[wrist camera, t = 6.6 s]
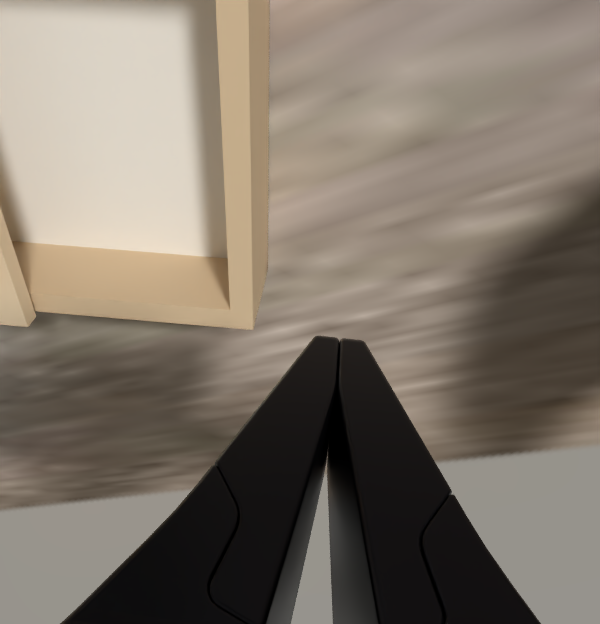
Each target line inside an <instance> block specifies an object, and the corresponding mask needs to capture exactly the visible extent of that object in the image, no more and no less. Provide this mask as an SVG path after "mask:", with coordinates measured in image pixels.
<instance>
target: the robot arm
mask: <svg viewBox="0 0 600 624" xmlns="http://www.w3.org/2000/svg"><path fill="white" fill-rule="evenodd" d="M327 453H328V460H327ZM326 460H327V478H328V479H327V480H328V504H329V505H328V506H329V531H330V557H331V584H332V606H333V607H332V610H333V624H541V623H540V622H539V620H538V619H537V618H536V616H535V615H534V614H533V612H532V611H531V610H530V608H529V607H528V605H527V604H526V603H525V601H524V600H523V599H522V597H521V596H520V595H519V593H518V592H517V590H516V589H515V588H514V587H513V585H512V584H511V583H510V581H509V579H508V578H507V577H506V575H505V574H504V572H503V571H502V569H501V568H500V567H499V565H498V564H497V562H496V561H495V560H494V558H493V557H492V555H491V554H490V552H489V551H488V550H487V548H486V547H485V545H484V543H483V542H482V540H481V538H480V537H479V535H478V534H477V532H476V531H475V529H474V527H473V526H472V524H471V522H470V521H469V519H468V518H467V516H466V514H465V513H464V511H463V509H462V507H461V506H460V504H459V502H458V500H457V499H456V497H455V496H454V495H451V493H452V491H451V489H450V487H449V485H448V484H447V482H446V480H445V479H444V477H443V475H442V473H441V472H440V470H439V468H438V467H437V465H436V463H435V461H434V460H433V458H432V456H431V455H430V453H429V451H428V450H427V448H426V446H425V444H424V443H423V441H422V439H421V438H420V436H419V434H418V432H417V431H416V429H415V427H414V426H413V424H412V422H411V420H410V419H409V417H408V415H407V414H406V412H405V410H404V408H403V407H402V405H401V403H400V402H399V400H398V398H397V396H396V395H395V393H394V391H393V390H392V388H391V386H390V384H389V383H388V381H387V379H386V378H385V376H384V374H383V373H382V371H381V369H380V367H379V366H378V364H377V362H376V361H375V359H374V357H373V355H372V354H371V352H370V350H369V349H368V347H367V345H366V344H365V342H364V341H361V340H354V339H345V338H344V339H341V340H340V342H339V340H338V339H337V338H335V337H326V336H315V337H314V338H313V339H312V341H311V342H310V343H309V344H308V346H307V347H306V348H305V349H304V351H303V352H302V353H301V354H300V356H299V357H298V358H297V359H296V361H295V362H294V363H293V364H292V366H291V367H290V368H289V370H288V371H287V372H286V373H285V375H284V376H283V377H282V378H281V380H280V381H279V382H278V383H277V385H276V386H275V387H274V388H273V390H272V391H271V392H270V393H269V395H268V396H267V397H266V398H265V400H264V401H263V402H262V404H261V405H260V406H259V407H258V409H257V410H256V411H255V412H254V414H253V415H252V416H251V417H250V419H249V420H248V421H247V422H246V424H245V425H244V426H243V427H242V429H241V430H240V431H239V433H238V434H237V435H236V436H235V438H234V439H233V440H232V441H231V443H230V444H229V445H228V446H227V448H226V449H225V450H224V451H223V453H222V454H221V455H220V456H219V458H218V459H217V460H216V462H215V465H213V466H211V467H210V469H209V470H208V471H207V472H206V474H205V475H204V476H203V478H202V479H201V480H200V481H199V483H198V484H197V485H196V486H195V487H194V489H193V490H192V491H191V492H190V493H189V494H188V496H187V497H186V498H185V499H184V500H183V501H182V503H181V504H180V505H179V506H178V507H177V509H176V510H175V511H174V512H173V513H172V514H171V515H170V516H169V517H168V518H167V519H166V520H165V521H164V522H163V523H162V524H161V525H160V526H159V527H158V528H157V529H156V530H155V531H154V533H153V534H152V535H151V536H150V537H149V538H148V539H147V540H146V541H145V542H144V543H143V544H142V545H141V546H140V547H139V548H138V549H137V550H136V551H135V552H134V553H133V554H131V556H129V558H128V559H126V560H125V561H124V562H123V563H122V564H121V565H120V566H119V567H118V568H117V569H116V570H115V571H114V572H113V573H112V575H110V576H109V577H108V578H107V579H106V580H105V581H104V582H103V583H102V584H101V585H100V586H99V587H98V588H97V589H96V590H95V591H94V592H93V593H92V594H91V595H90V596H89V597H88V598H87V599H86V600H85V601H84V602H83V603H82V604H81V605H80V606H79V607H78V608H77V609H76V610H75V611H74V612H72V613H71V614H70V615H69V616H68V617H67V618H66V619H65V620H64V621H63V622H62V623H60V624H291V619H292V615H293V610H294V606H295V602H296V597H297V593H298V588H299V584H300V579H301V575H302V570H303V566H304V561H305V557H306V553H307V548H308V543H309V539H310V535H311V530H312V526H313V521H314V517H315V512H316V508H317V504H318V499H319V494H320V490H321V486H322V481H323V477H324V472H325V466H326Z"/></svg>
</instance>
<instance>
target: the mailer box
mask: <svg viewBox="0 0 600 624" xmlns="http://www.w3.org/2000/svg"><path fill="white" fill-rule="evenodd" d="M269 5H270V0H0V207H1V211H2V214H3V217H4V220H5V223H6V226H7V229H8V232H9V235H10V238H11V241H12V244H13V247H14V250H15V253H16V256H17V259H18V262H19V265H20V268H21V272H22V275H23V278H24V281H25V284H26V287H27V290H28V293H29V296H30V299H31V302H32V305H33V308H34V311H38V312H49V313H61V314H73V315H84V316H96V317H108V318H120V319H131V320H143V321H155V322H166V323H178V324H190V325H201V326H213V327H225V328H237V329H248V330H253V328H254V324H255V320H256V316H257V312H258V308H259V304H260V300H261V296H262V292H263V288H264V284H265V280H266V276H267V271H268V157H269Z"/></svg>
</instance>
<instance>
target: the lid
mask: <svg viewBox="0 0 600 624" xmlns="http://www.w3.org/2000/svg"><path fill="white" fill-rule="evenodd" d="M35 318H36V314H35V311H34V308H33V305H32V302H31V299H30V296H29V293H28V290H27V287H26V284H25V281H24V278H23V275H22V272H21V268H20V265H19V262H18V259H17V256H16V253H15V250H14V247H13V244H12V241H11V238H10V235H9V232H8V229H7V226H6V223H5V220H4V217H3V214H2V211H1V207H0V325H10V326H22V327H28V326H29V325H30V324H31V323H32V321H33V320H34V319H35Z"/></svg>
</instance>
